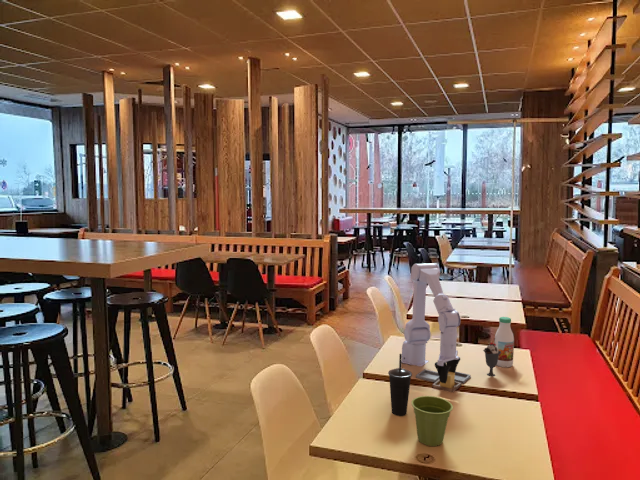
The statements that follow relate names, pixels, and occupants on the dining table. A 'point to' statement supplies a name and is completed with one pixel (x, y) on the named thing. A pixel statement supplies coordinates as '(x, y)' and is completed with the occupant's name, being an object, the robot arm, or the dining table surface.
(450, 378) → the letter cube
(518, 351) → the dining table surface
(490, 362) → the sundae
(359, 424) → the dining table surface
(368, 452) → the dining table surface
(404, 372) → the drinking cup
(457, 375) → the back dish
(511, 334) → the milk bottle
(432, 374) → the left dish
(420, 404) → the plant pot
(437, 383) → the front dish
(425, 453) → the dining table surface
